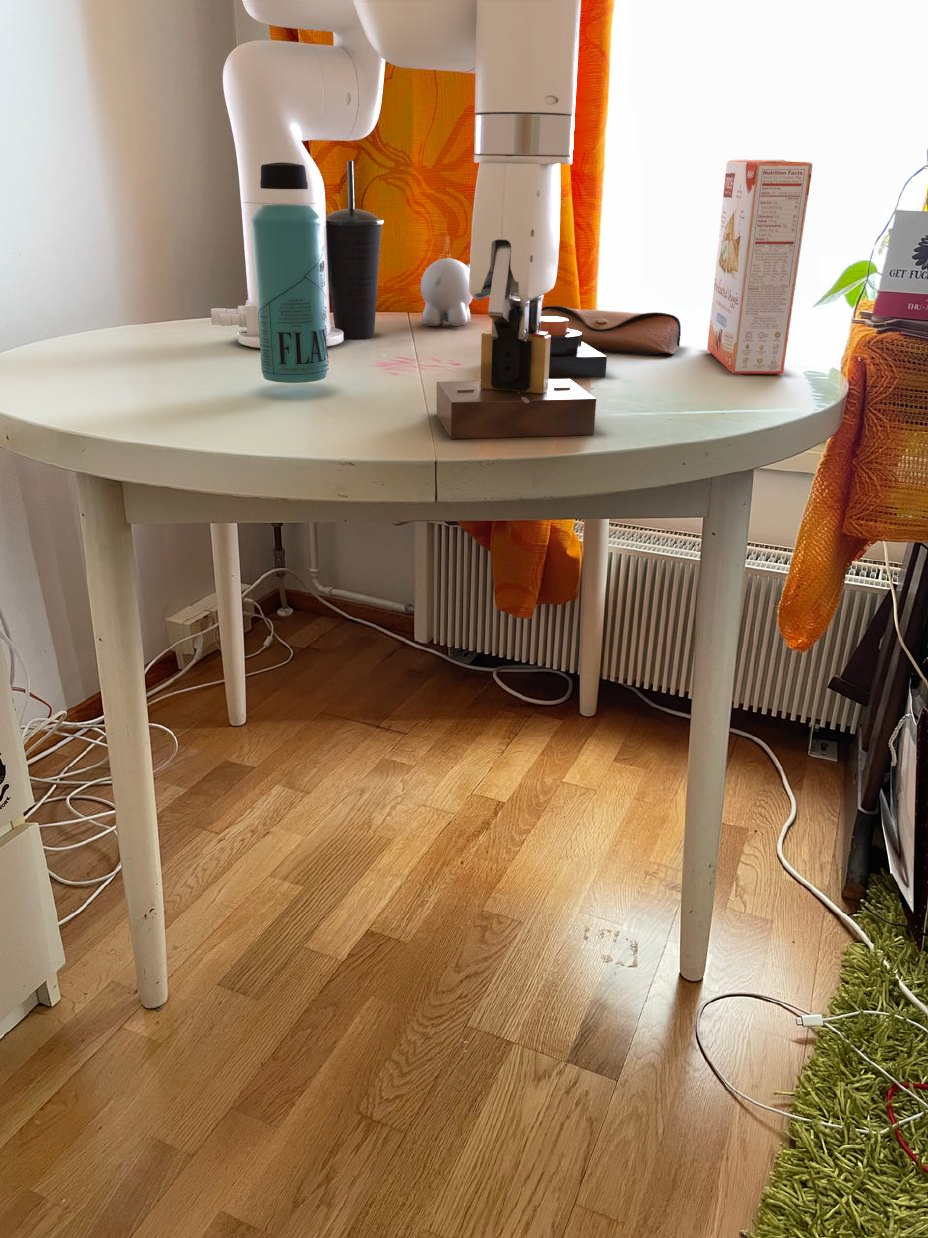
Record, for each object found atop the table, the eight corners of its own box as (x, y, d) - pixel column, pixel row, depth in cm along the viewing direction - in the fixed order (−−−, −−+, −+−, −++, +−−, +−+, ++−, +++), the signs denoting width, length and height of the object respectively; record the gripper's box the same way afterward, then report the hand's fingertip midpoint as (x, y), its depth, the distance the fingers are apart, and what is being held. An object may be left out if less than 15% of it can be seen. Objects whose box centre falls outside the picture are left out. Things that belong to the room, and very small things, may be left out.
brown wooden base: (452, 441, 79) (453, 402, 78) (435, 413, 88) (435, 377, 86) (597, 437, 81) (599, 399, 80) (565, 410, 90) (567, 374, 88)
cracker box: (702, 351, 118) (724, 158, 109) (753, 352, 118) (779, 159, 109) (727, 374, 106) (754, 158, 97) (784, 375, 105) (816, 159, 96)
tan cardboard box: (480, 388, 83) (481, 330, 81) (485, 384, 85) (487, 327, 83) (543, 393, 82) (546, 334, 80) (548, 390, 83) (551, 331, 81)
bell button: (537, 338, 103) (538, 321, 102) (529, 333, 106) (530, 316, 105) (571, 338, 103) (572, 321, 103) (562, 332, 107) (563, 316, 106)
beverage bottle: (273, 401, 91) (257, 162, 82) (252, 387, 96) (235, 161, 88) (340, 395, 94) (331, 163, 85) (316, 382, 99) (305, 162, 90)
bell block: (512, 379, 101) (513, 339, 100) (494, 363, 109) (495, 325, 108) (605, 377, 103) (608, 338, 101) (581, 361, 111) (584, 324, 109)
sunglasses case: (521, 343, 118) (530, 290, 118) (531, 365, 124) (538, 314, 125) (674, 354, 113) (682, 298, 114) (675, 375, 120) (683, 323, 121)
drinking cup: (375, 342, 121) (372, 161, 112) (316, 339, 122) (308, 160, 113) (392, 332, 127) (390, 161, 119) (335, 329, 129) (329, 160, 120)
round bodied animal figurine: (487, 317, 140) (488, 254, 137) (466, 330, 130) (467, 261, 126) (438, 315, 142) (438, 252, 138) (414, 327, 131) (413, 259, 128)
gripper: (506, 143, 83) (499, 366, 91) (441, 140, 69) (440, 401, 77) (594, 144, 81) (579, 372, 89) (544, 141, 67) (532, 410, 75)
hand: (514, 384), depth 83 cm, fingers closed on tan cardboard box
